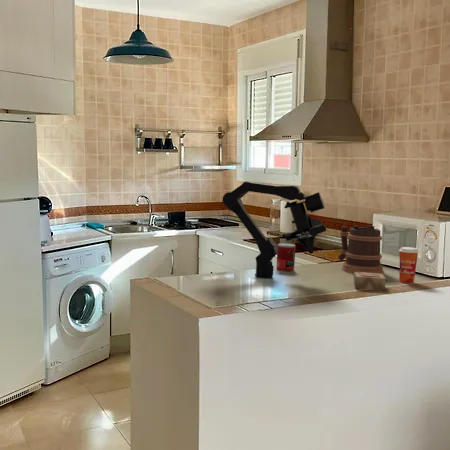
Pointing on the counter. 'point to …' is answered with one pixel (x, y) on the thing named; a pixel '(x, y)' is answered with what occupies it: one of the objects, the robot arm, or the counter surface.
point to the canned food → (285, 257)
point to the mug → (361, 249)
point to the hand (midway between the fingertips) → (311, 253)
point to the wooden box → (369, 281)
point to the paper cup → (408, 264)
